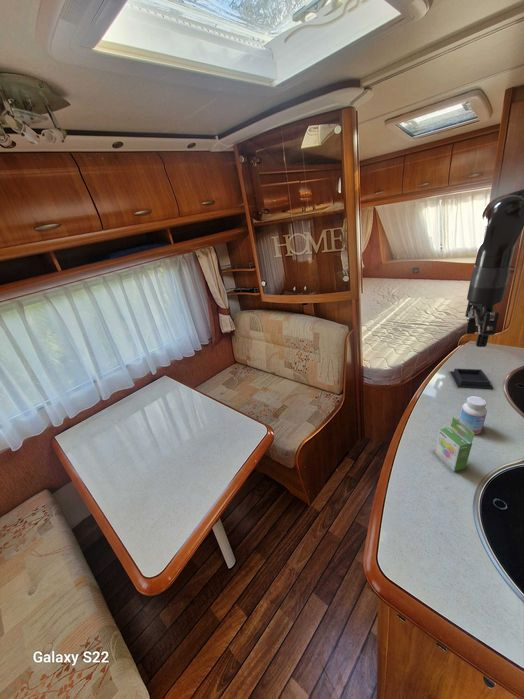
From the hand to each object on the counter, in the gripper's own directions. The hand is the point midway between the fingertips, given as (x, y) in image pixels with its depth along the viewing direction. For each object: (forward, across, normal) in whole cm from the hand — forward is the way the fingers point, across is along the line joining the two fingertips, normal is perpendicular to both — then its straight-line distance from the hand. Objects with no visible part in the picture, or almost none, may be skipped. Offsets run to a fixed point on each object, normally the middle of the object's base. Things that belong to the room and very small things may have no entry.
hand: (475, 339), depth 77 cm
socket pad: (+31, +26, -11) cm, 41 cm away
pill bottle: (+31, -2, -3) cm, 31 cm away
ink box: (+31, -17, +6) cm, 36 cm away
